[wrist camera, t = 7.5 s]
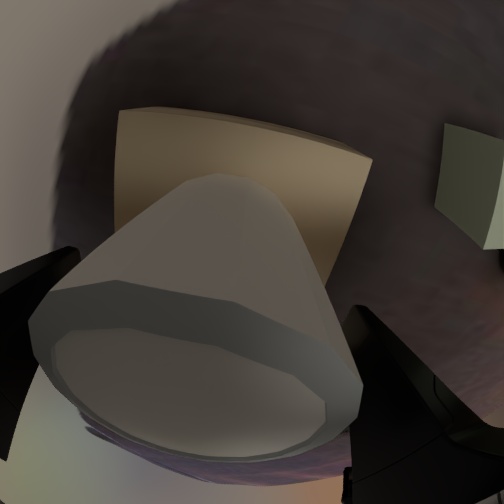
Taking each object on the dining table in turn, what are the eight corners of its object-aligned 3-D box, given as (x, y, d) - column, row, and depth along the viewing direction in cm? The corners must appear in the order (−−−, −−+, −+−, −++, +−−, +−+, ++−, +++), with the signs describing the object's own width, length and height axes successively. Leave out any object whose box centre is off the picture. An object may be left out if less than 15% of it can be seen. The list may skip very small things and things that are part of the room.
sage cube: (485, 210, 13) (531, 247, 9) (433, 206, 13) (483, 249, 9) (497, 138, 10) (551, 161, 6) (443, 122, 11) (505, 141, 6)
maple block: (293, 290, 16) (299, 340, 13) (147, 261, 16) (121, 304, 12) (342, 142, 12) (372, 159, 8) (158, 106, 11) (119, 110, 8)
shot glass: (123, 165, 9) (-25, 274, 3) (319, 154, 8) (431, 283, 2) (159, 309, 12) (109, 444, 6) (307, 311, 12) (325, 464, 6)
